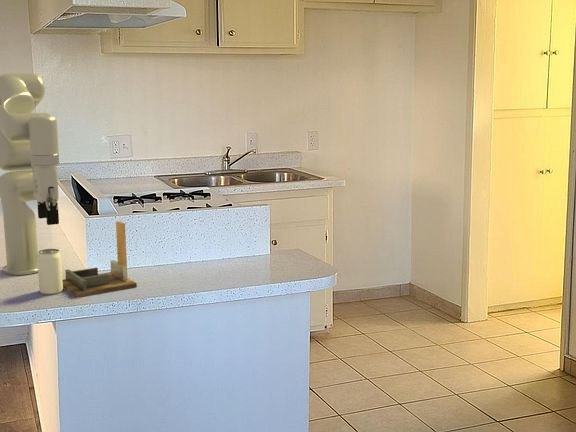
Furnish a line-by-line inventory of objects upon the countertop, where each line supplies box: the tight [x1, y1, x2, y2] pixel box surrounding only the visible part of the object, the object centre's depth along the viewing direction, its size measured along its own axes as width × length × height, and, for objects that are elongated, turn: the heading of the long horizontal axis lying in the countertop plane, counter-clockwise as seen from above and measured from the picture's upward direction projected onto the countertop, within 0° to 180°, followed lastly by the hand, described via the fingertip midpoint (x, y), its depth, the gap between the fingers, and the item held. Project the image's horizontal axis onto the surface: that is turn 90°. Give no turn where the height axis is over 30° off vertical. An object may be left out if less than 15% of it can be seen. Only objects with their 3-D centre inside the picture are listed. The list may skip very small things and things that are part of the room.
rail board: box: [62, 271, 138, 298], centre depth 230 cm, size 16×18×1 cm
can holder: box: [64, 267, 109, 292], centre depth 228 cm, size 15×9×3 cm, turn 34°
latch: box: [110, 220, 128, 281], centre depth 233 cm, size 10×2×16 cm, turn 34°
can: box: [37, 248, 64, 295], centre depth 223 cm, size 6×6×12 cm
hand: (48, 221), depth 219 cm, fingers open, 9 cm apart
